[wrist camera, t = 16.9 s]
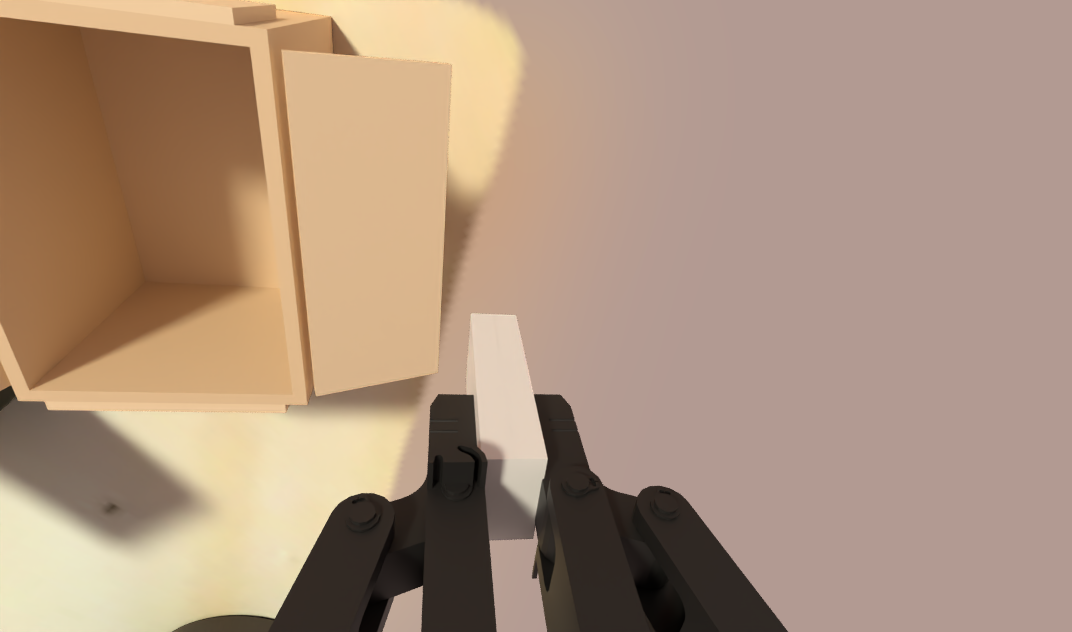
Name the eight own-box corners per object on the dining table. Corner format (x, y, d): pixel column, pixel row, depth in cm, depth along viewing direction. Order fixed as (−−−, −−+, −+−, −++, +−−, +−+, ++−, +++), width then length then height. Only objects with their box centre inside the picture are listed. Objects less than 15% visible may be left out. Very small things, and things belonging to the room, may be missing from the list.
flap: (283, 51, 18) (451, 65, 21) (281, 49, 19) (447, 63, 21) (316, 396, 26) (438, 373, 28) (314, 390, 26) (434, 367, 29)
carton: (346, 301, 35) (308, 413, 26) (143, 292, 33) (22, 409, 24) (330, 5, 27) (264, 12, 18) (56, -33, 25) (-183, -48, 16)
